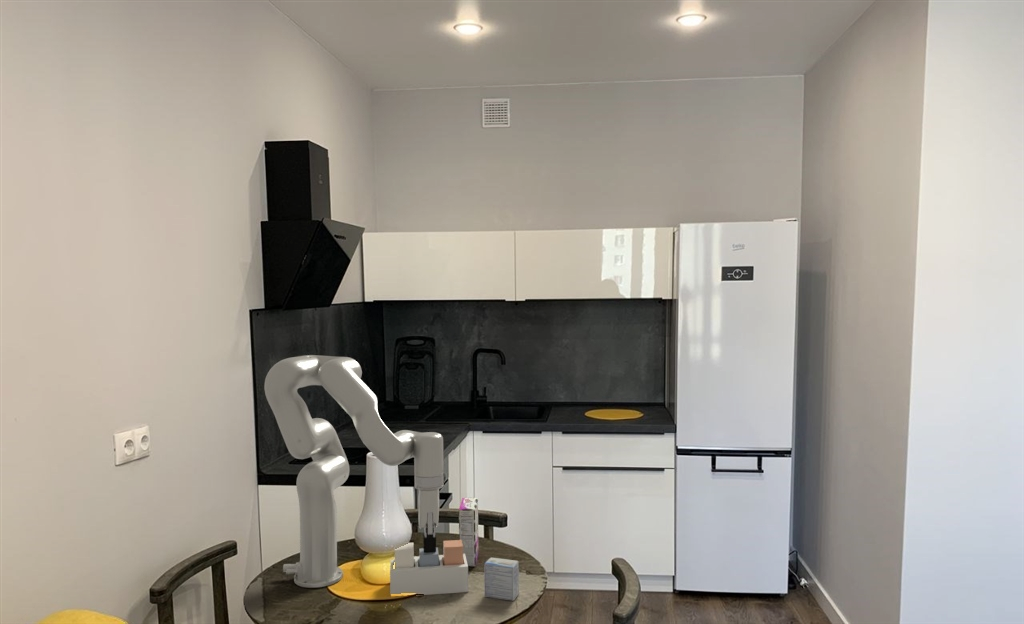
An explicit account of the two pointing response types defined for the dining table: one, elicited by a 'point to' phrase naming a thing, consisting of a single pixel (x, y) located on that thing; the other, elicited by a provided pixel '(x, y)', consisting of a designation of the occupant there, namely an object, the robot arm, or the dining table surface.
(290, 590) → the dining table surface
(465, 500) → the candy bar box
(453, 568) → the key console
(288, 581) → the dining table surface
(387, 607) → the dining table surface
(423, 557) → the slate key
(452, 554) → the terracotta key
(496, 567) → the medicine box
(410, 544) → the ivory key
